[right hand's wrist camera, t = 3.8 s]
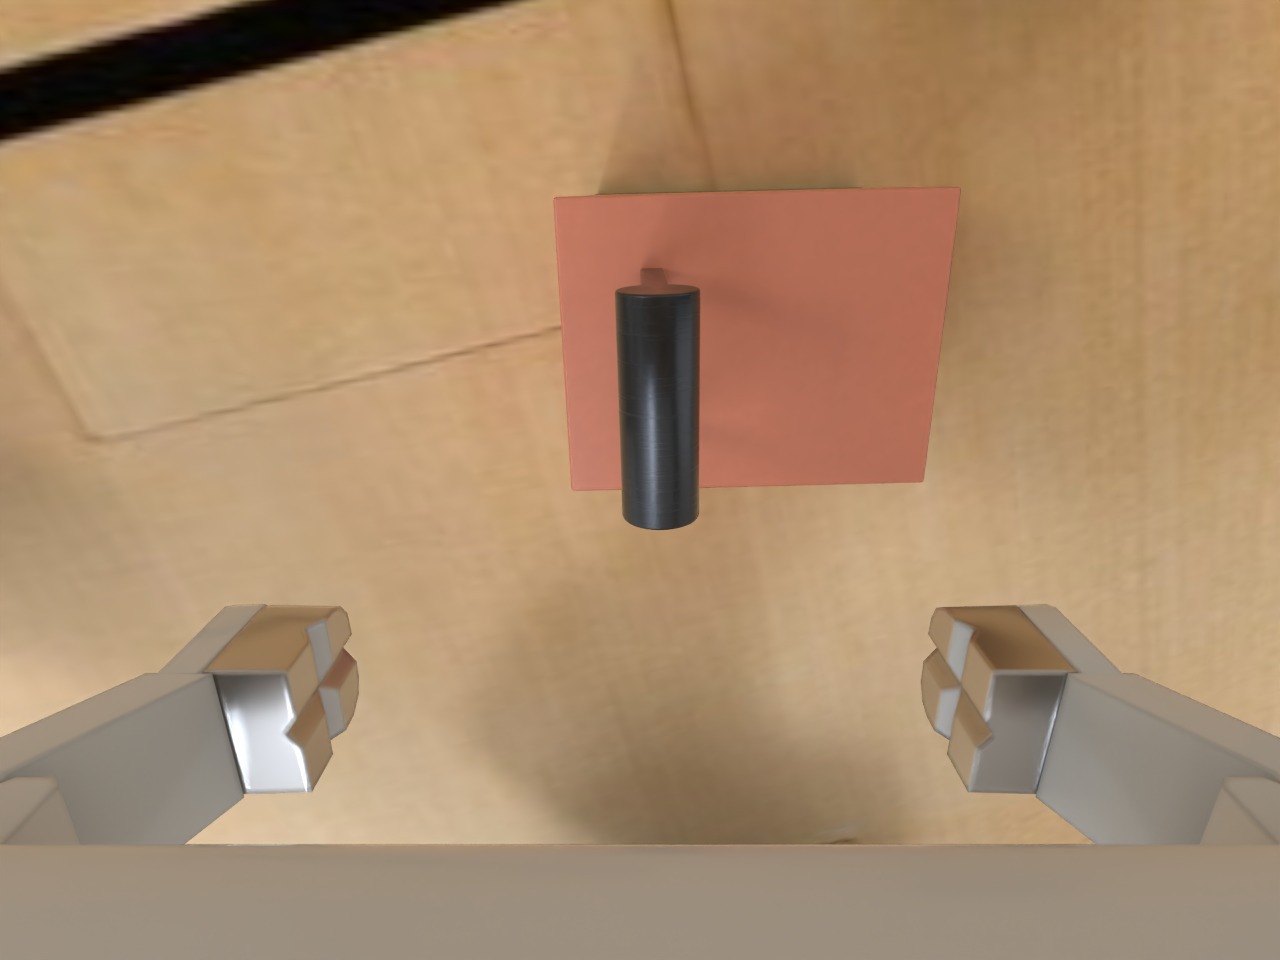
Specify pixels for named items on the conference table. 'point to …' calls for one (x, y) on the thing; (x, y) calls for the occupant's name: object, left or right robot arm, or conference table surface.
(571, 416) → the lid
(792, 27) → the conference table surface
